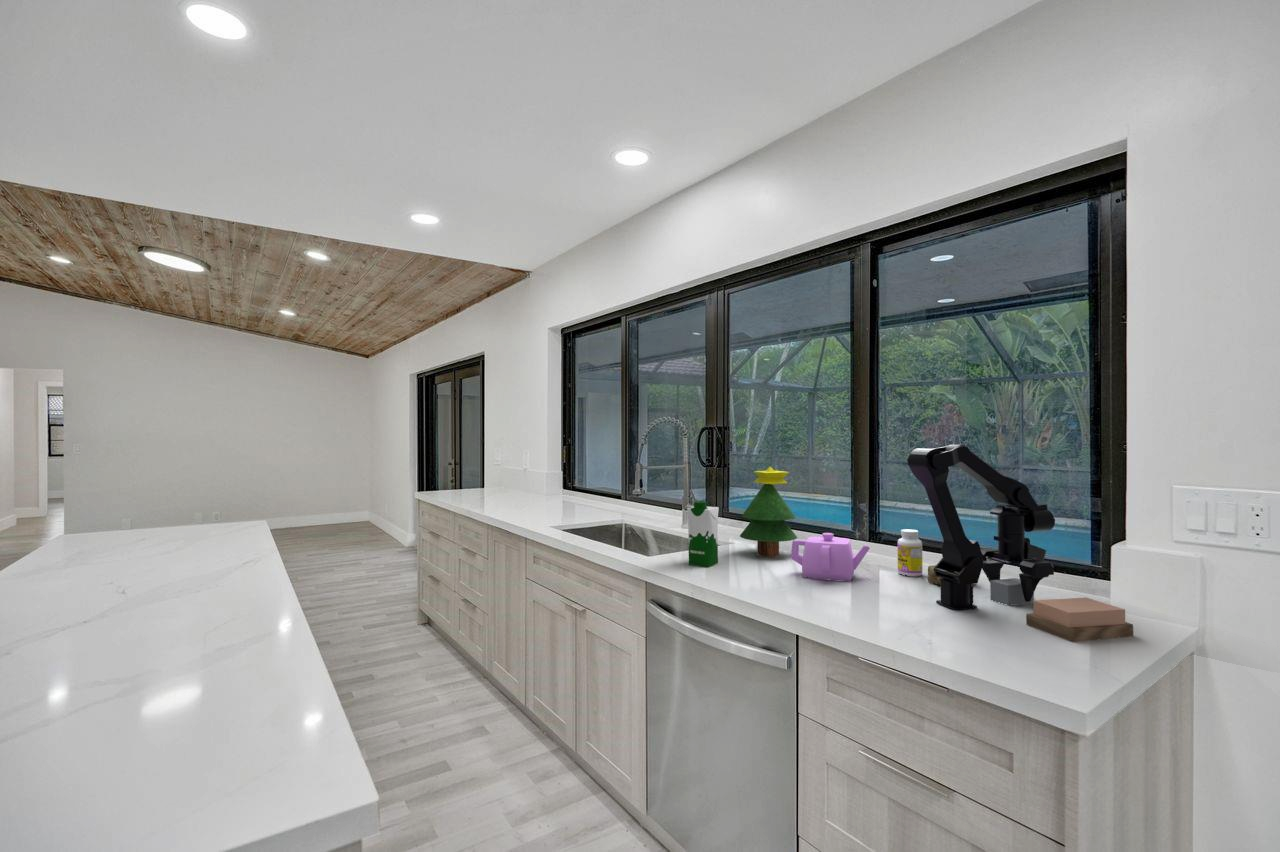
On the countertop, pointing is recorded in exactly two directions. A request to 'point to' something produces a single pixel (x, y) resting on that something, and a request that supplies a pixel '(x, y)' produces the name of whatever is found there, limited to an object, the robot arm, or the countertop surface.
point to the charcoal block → (1007, 591)
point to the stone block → (934, 576)
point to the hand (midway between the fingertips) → (1011, 596)
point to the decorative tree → (768, 515)
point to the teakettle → (827, 557)
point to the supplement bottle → (909, 553)
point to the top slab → (1079, 612)
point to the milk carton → (703, 534)
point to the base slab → (1079, 629)
